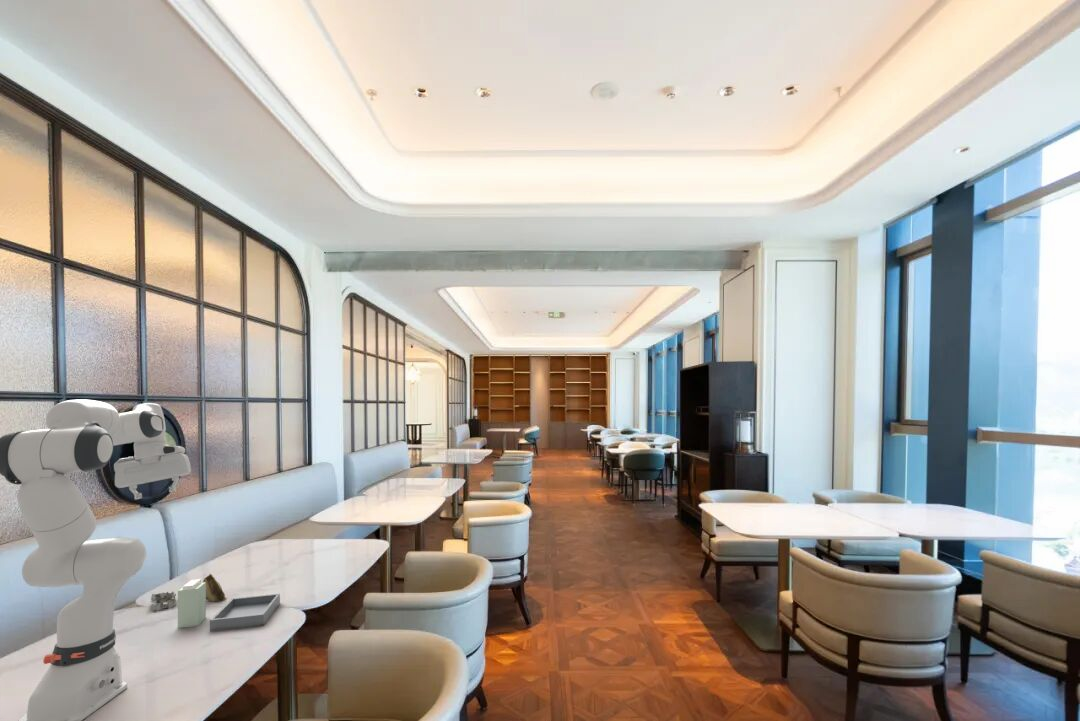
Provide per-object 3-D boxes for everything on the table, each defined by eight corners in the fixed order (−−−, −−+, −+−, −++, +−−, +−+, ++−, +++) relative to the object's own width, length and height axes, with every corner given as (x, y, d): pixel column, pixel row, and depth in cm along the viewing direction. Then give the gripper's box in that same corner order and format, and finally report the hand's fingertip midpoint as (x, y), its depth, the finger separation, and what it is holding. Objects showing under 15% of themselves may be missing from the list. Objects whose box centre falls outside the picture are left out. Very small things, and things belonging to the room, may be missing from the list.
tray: (263, 625, 170) (263, 614, 170) (209, 631, 167) (209, 620, 167) (280, 603, 188) (279, 593, 188) (231, 608, 185) (231, 598, 185)
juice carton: (197, 625, 172) (197, 585, 172) (177, 627, 170) (177, 586, 171) (205, 617, 178) (205, 578, 178) (186, 619, 176) (186, 580, 177)
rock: (193, 591, 196) (191, 595, 188) (209, 569, 200) (208, 573, 192) (220, 603, 200) (218, 609, 191) (235, 582, 203) (235, 586, 195)
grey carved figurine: (175, 607, 188) (176, 596, 188) (150, 613, 184) (150, 601, 184) (176, 598, 197) (176, 587, 197) (151, 603, 192) (151, 592, 193)
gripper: (108, 459, 163) (112, 503, 161) (183, 445, 170) (188, 487, 167) (118, 460, 169) (121, 503, 166) (190, 447, 176) (194, 487, 173)
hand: (155, 495), depth 167 cm, fingers open, 8 cm apart
